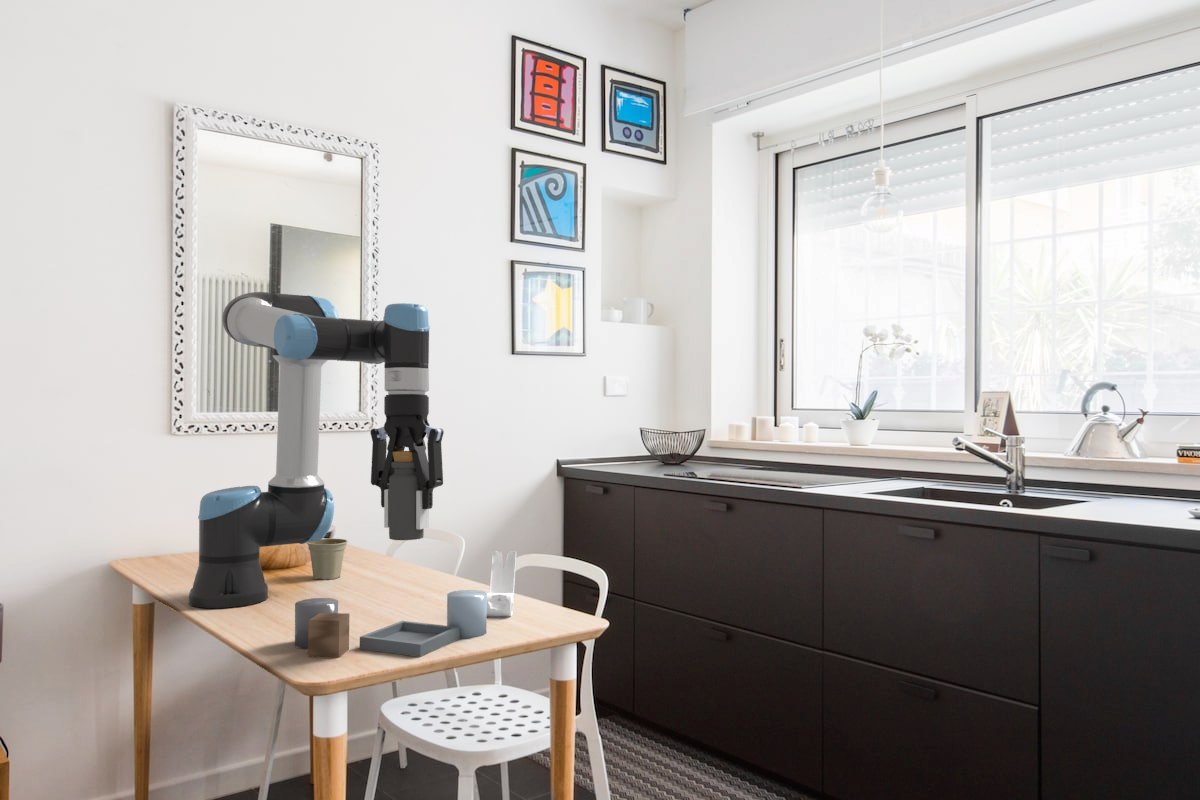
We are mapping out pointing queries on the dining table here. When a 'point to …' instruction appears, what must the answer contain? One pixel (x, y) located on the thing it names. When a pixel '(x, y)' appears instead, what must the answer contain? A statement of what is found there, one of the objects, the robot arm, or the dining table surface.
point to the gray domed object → (310, 616)
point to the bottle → (403, 498)
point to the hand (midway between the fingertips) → (406, 527)
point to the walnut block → (328, 635)
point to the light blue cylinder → (467, 612)
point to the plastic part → (501, 585)
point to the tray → (410, 638)
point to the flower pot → (327, 557)
